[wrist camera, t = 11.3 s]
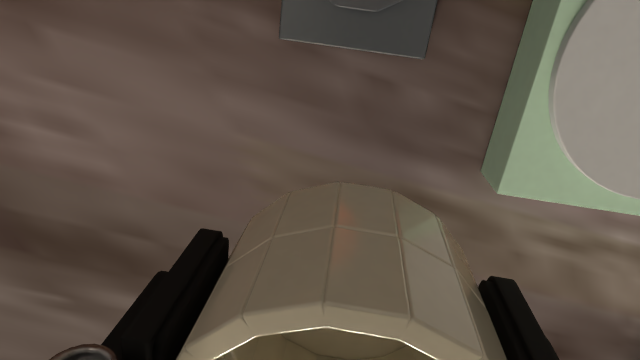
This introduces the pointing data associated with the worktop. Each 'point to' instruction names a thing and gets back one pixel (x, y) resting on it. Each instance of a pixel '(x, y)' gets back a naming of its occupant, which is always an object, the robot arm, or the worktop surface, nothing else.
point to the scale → (572, 108)
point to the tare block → (361, 24)
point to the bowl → (344, 285)
